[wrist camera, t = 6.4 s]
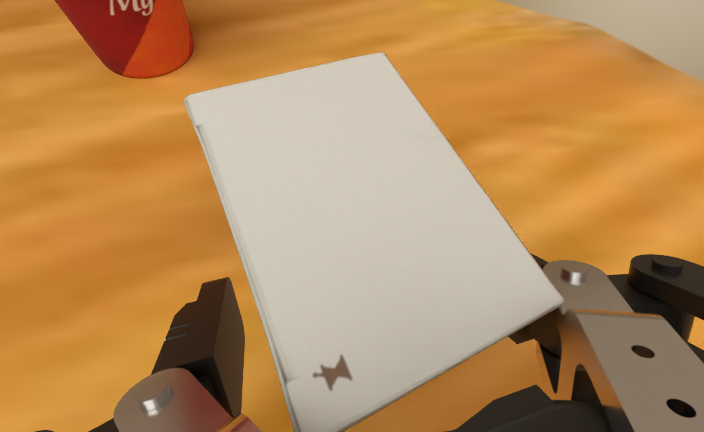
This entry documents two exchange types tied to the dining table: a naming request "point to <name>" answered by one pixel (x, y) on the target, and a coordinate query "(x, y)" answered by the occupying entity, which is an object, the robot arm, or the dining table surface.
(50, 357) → the dining table surface
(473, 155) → the dining table surface
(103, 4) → the coffee cup
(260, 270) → the small box
